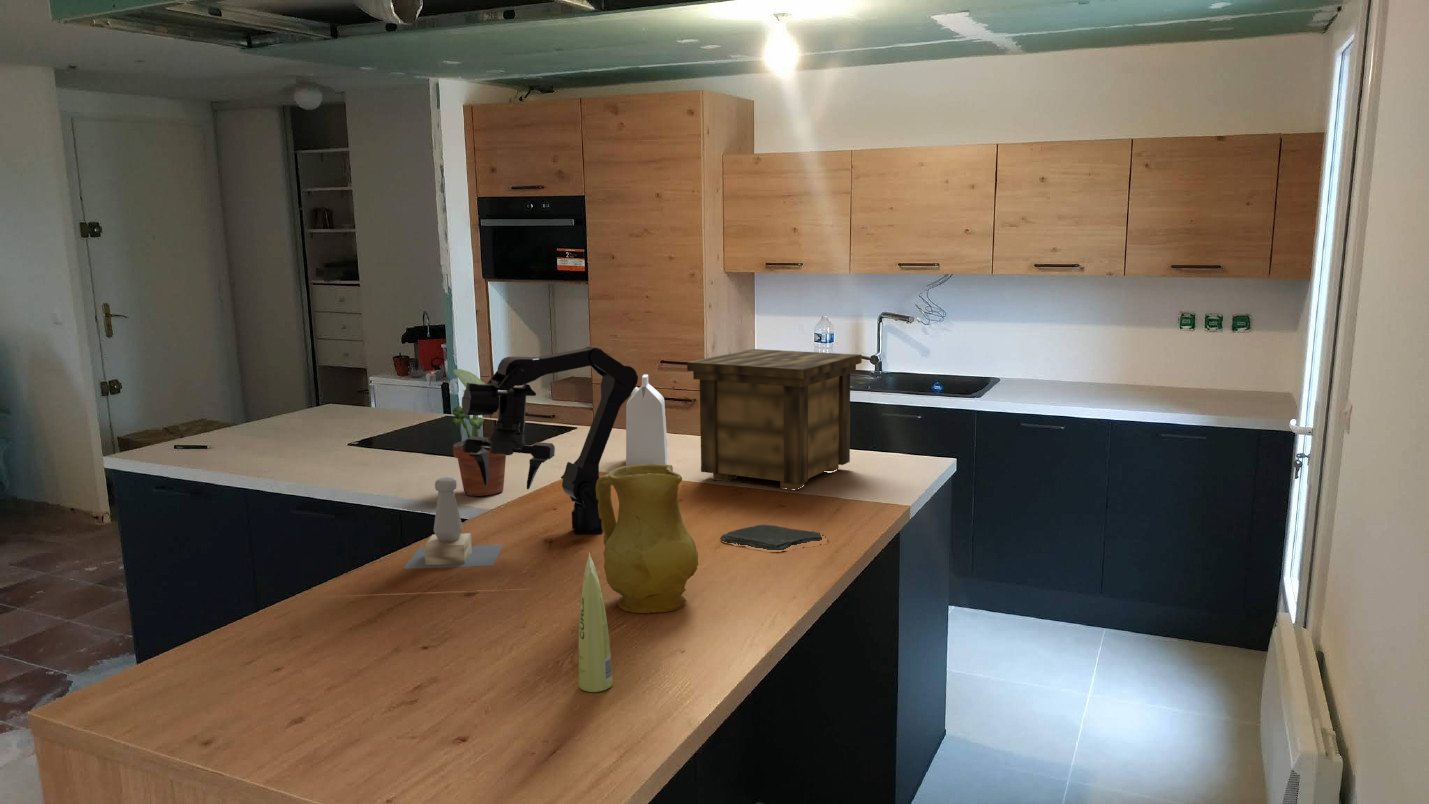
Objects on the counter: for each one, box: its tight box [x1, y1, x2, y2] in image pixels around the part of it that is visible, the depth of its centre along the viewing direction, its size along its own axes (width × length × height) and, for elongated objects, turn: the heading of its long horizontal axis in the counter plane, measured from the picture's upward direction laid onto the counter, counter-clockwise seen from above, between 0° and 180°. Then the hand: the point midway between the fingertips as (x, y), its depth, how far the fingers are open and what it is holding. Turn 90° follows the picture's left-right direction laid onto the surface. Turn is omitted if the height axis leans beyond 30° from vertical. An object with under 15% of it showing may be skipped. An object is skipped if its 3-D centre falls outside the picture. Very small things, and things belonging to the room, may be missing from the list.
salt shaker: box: [433, 476, 463, 542], centre depth 207 cm, size 6×6×13 cm
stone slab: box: [719, 524, 827, 550], centre depth 217 cm, size 24×17×2 cm
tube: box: [578, 552, 613, 693], centre depth 147 cm, size 6×5×20 cm
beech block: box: [423, 532, 473, 565], centre depth 208 cm, size 8×8×4 cm
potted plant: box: [451, 368, 507, 497], centre depth 260 cm, size 16×15×35 cm
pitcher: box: [596, 464, 699, 614], centre depth 181 cm, size 17×19×25 cm
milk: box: [625, 374, 669, 466], centre depth 294 cm, size 12×12×26 cm
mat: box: [403, 544, 504, 570], centre depth 210 cm, size 18×14×1 cm
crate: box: [686, 348, 863, 491], centre depth 275 cm, size 35×35×33 cm
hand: (507, 487), depth 216 cm, fingers open, 9 cm apart
